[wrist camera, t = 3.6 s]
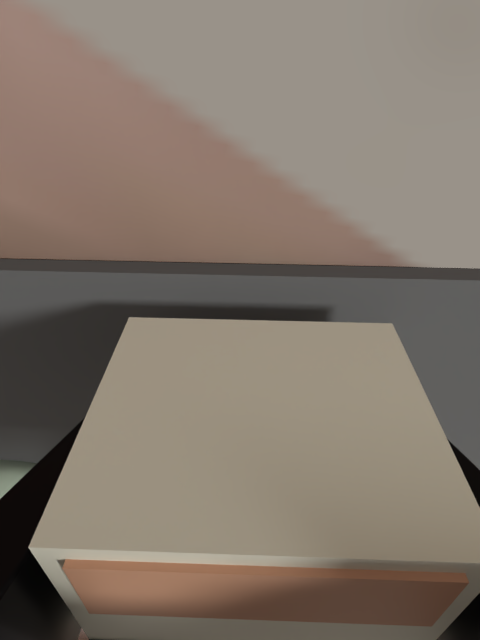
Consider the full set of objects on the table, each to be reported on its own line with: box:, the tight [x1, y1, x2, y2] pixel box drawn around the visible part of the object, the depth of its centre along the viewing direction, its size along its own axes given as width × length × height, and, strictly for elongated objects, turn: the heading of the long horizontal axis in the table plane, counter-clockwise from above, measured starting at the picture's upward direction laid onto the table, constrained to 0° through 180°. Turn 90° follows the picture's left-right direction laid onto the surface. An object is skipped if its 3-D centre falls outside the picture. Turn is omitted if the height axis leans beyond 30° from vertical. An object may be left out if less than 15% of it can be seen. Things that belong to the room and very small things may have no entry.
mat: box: [0, 259, 480, 470], centre depth 15 cm, size 17×21×1 cm
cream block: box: [28, 317, 480, 640], centre depth 8 cm, size 4×6×5 cm, turn 90°
